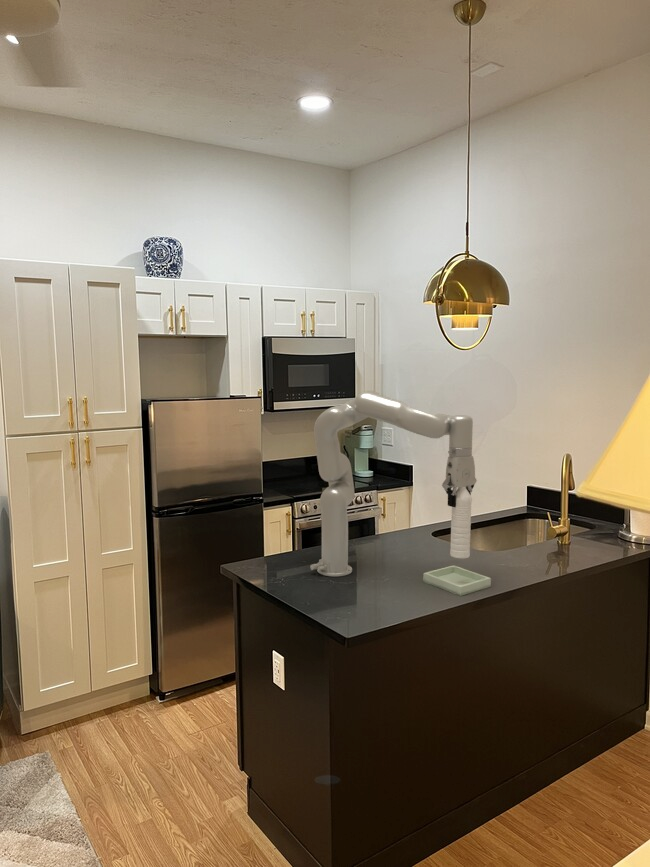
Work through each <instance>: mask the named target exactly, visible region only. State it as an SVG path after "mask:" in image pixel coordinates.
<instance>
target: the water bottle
mask: <svg viewBox="0 0 650 867" xmlns="http://www.w3.org/2000/svg"><path fill="white" fill-rule="evenodd" d="M455 495H456V507H451V519H450V525H451V526H450V550H449V555H450V557H452V558H454V559H467V558H470V554H471V544H470V543H471V530H472V529H471V526H472V524H471V523H472V494H471V495H470V494H469V492H468V491H467V489H466V486H465V487H459V488H457V489H456V492H455Z"/></svg>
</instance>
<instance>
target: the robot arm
mask: <svg viewBox="0 0 650 867" xmlns="http://www.w3.org/2000/svg"><path fill="white" fill-rule="evenodd" d="M367 418H370V419H373V420H377V421H380V422H383V423H386V424H390V425H393V426H396V427H397V428H400V429H403V430H405V431H409V432H410V433H413V434H416V435H419V436H423V437H426V438H430V439H436V440H437V439H440V438H443V437H444V436H449V438H448V439H449V440H448V442H449V443H448V452H447V453H448V457H447V462H446V468H445V479H444V481H443V482H442V484H441V486H442V488H443V489H444V491H445V493H446V494H447V506H448V507H451V508H452V507H456V495H455V492H456V490H457V489H458V488H459V487H465V486H466V489H467V491H468V492H469V494H470V495H471V496H472V492H473V488H474V487H475V485H476V483H477V481H478V480H477V478H476V468H475V466H476V465H475V460H474V455H472V454H473V430H474V429H473V424H474V421H473V418H472V417H471V416H469V415H461V414H459V415H458V414H457V415H450V414H443V413H436V414H435V413H434V414H430V413H427V412H424V411H420V410H419V409H418V410H417V409H415V408H412V407H411V406H409V405H408V404H407V403H406V402H404V401H401V400H399V399H398V400H397V399H395V398H391V397H387V396H384V395H381V394H380V393H379V392H377V391H375V390H365V391H362V392H360V393H358V394H357V395H356V396H355V397H354V398H352V399H351V400H349V401H347V402H345V403H343V404H340V405H335V406H332V407H329V408H327V409H325V410H324V411H323V412H322V413H320V414H319V416H317V419H316V420H315V423H314V426H313V436H314V443H315V452H316V459H317V466H318V472H319V473H318V474H319V476H320V478H321V479H322V480H323V481H324V482H328V486H327V487H326V488H325V489H324V490H323V491H322V493H321V495H320V499H319V507H320V516H321V517H320V518H321V559H318V562H317V563H313V564H310V570H311V571H314V570H317V572H318V574H320V575H321V576H327V577H335V578H336V577H345V576H348V575H350V574H351V573H352V572H353V568H352V566H351V565H349V517H348V511H347V510H348V506H349V505H350V504H351V503H352V502H353V500H354V498H355V485H354V478H353V470H352V464H351V462H350V460H349V458H348V456H346V454H344V453H342V452H341V446H340V441H339V437H338V432H339V431H342V430H345V429H347V428H349V427H352V426H353V425H355V424H358V423H360V422H362V421H364V420H365V419H367Z"/></svg>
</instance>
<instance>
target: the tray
mask: <svg viewBox="0 0 650 867" xmlns="http://www.w3.org/2000/svg"><path fill="white" fill-rule="evenodd" d="M422 575H423V577H422V581H423V583H425V584H429V585H430V586H431V585H432V586H434V587H436V588H438V589H441V590H444V591H445V592H446V591H447V592H450V593H452V594H454V595H456V594H457V595H456V596H459V597H462V596H465V595H469V594H472V593H474V592H478V591H481V590H484V589H487V588H491V586H492V578H491V577H489V576H486V575H483V574H481V573H478V572H474V571H471V570H469V569H465V568H463V567H459V566H457V565H455V564H453V565H449V566H446V567H442V568H438V569H435V570H429V571H427V572H424V573H423V574H422Z"/></svg>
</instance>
